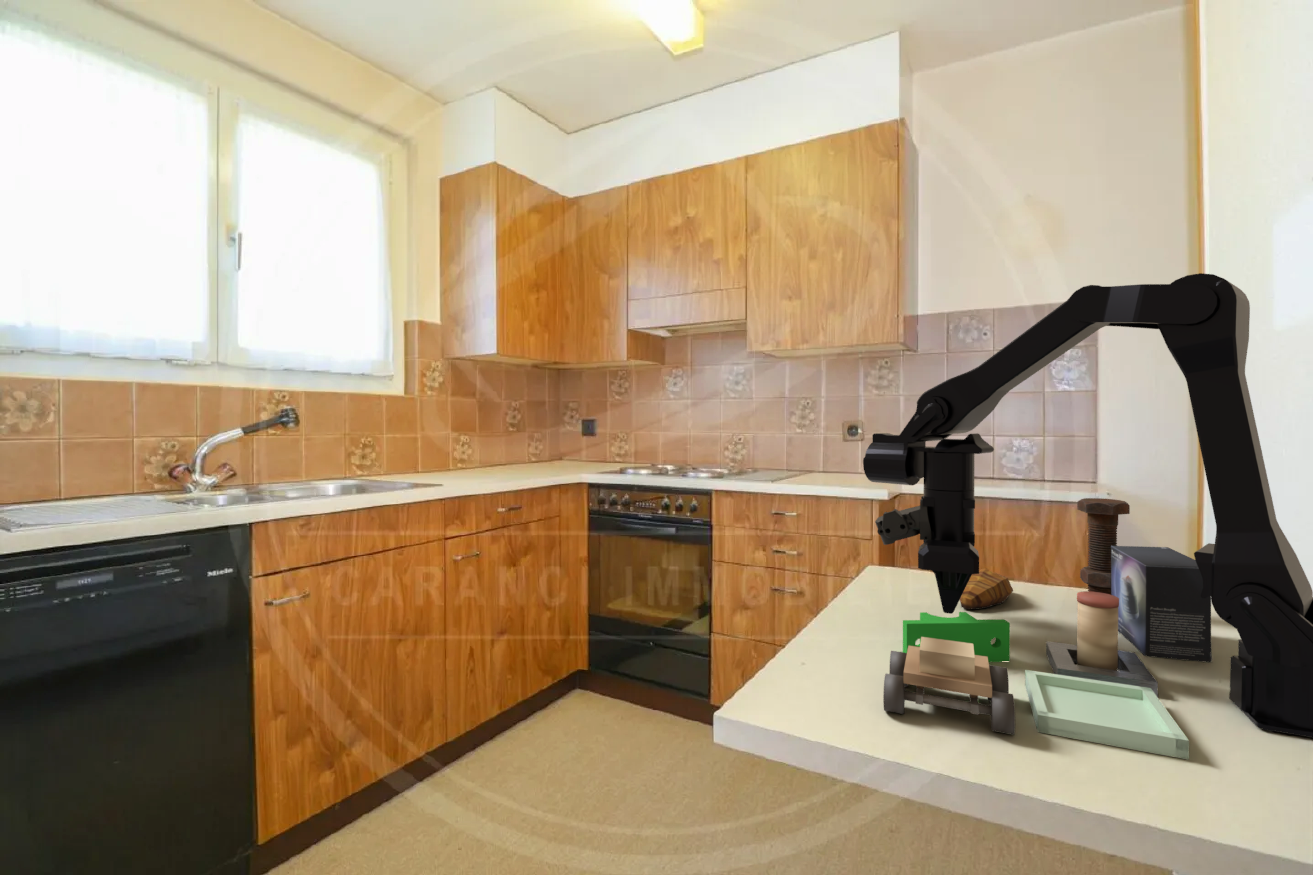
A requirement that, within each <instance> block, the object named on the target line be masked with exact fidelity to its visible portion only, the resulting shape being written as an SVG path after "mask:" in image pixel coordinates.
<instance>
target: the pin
mask: <svg viewBox="0 0 1313 875" xmlns="http://www.w3.org/2000/svg"><path fill="white" fill-rule="evenodd" d="M1076 601H1077V618H1076V619H1077V622H1076V623H1077V625H1076V626H1077V627H1076V630H1077V632H1076V633H1077V634H1076V635H1077V636H1076V638H1077V641H1076V645H1077V663H1076V665H1081V666H1088V667H1095V668H1102V669H1109V670H1117V671H1119V669H1118V650H1119V632H1118V607H1119V598H1118V597H1116V596H1113V595H1110V594H1106V593H1100V592H1090V591H1088V590H1085V591H1079V592H1077V594H1076Z"/></svg>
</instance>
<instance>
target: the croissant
mask: <svg viewBox="0 0 1313 875" xmlns="http://www.w3.org/2000/svg"><path fill="white" fill-rule="evenodd" d="M1013 592H1014V588H1013V587H1012V585H1011V582H1010V580H1009V578H1008V577H1006V576H1005V575H1004V576H1003V575H1001V574H999V573H997V572H994V571H992V570H990V569H989V568H986V567H985V568H981V569H979V574H972V575H971V577H970V579H969V581H968V583H967V585H966V587H965V590H964V591H963V594H962V596H961V598H960V600H959V602H960V606H961V608H963V609H965V610H981V609H986V608H990V607H993V606H996V605H1000V603H1001V604H1003V603H1004V602H1005V601H1006V600H1007V599H1008V598H1009V596H1011V595H1012V593H1013Z"/></svg>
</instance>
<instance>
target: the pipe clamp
mask: <svg viewBox="0 0 1313 875" xmlns="http://www.w3.org/2000/svg"><path fill="white" fill-rule="evenodd" d="M1010 625H1011V622H1009V621H1008V620H1006V619H1005V618H1004V619H1003V618H1002V619H998V618H997V619H996V618H995V619H990V618H989V619H983V618H982V619H977V618H975V617H974V616H972V615H971V614H970V613H968V612H966V611H958V616H955V617H947V616H938V615H933V614H930V613H929V612H919V619H904V620H902V652H904V653H907V650H908V646H915V647H920V643H921V637H927V638H935V639H942V640H950V641H957V642H965V643H972V644H973V646H974V655H979V656H986V657H988V663H1003V662H1002V661H1010V660H1011V659H1010V658H1011V656H1010V654H1011V652H1010V650H1011V649H1010V647H1011V646H1010V643H1011V641H1010V637H1011V631H1010V630H1011V628H1010V627H1011V626H1010ZM994 639H995V641H994V642H993V643H992V641H993V640H994ZM918 640H919V644H916V642H917V641H918Z"/></svg>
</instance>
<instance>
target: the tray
mask: <svg viewBox="0 0 1313 875" xmlns="http://www.w3.org/2000/svg"><path fill="white" fill-rule="evenodd" d="M1024 687H1025V690H1026V694H1027V698H1028V701H1029V705H1030V708H1031V712H1032V716H1033V720H1034V722H1035V727H1036V729H1037V733H1042V734H1046V735H1052V736H1057V737H1063V738H1069V739H1074V740H1078V741H1079V740H1080V741H1083V742H1084V741H1085V742H1090V743H1095V744H1102V745H1106V746H1113V747H1117V748H1123V749H1129V750H1134V751H1139V752H1144V753H1145V752H1146V753H1150V754H1156V755H1162V756H1167V757H1171V758H1172V757H1173V758H1177V759H1183V760H1190V740H1189V739H1188V737H1187V736H1186V735H1185V733H1184V731H1183V730H1182V729H1181V728H1180V726H1179V725H1178V723H1177V722H1176V720H1174V718H1173V717H1172V715H1171V714H1170V713H1169V711H1168V710H1167V708H1166V706H1164V704H1163V703H1162V701H1161V700H1160V698H1158V697H1159V696H1158V697H1157V696H1156V695H1155V693H1154V692H1153V690H1152V689H1151V688H1147V687H1140V686H1133V685H1126V684H1119V683H1112V682H1106V681H1099V680H1092V679H1085V678H1078V677H1071V676H1064V675H1058V674H1054V673H1050V672H1043V671H1035V670H1031V669H1025V670H1024Z"/></svg>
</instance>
